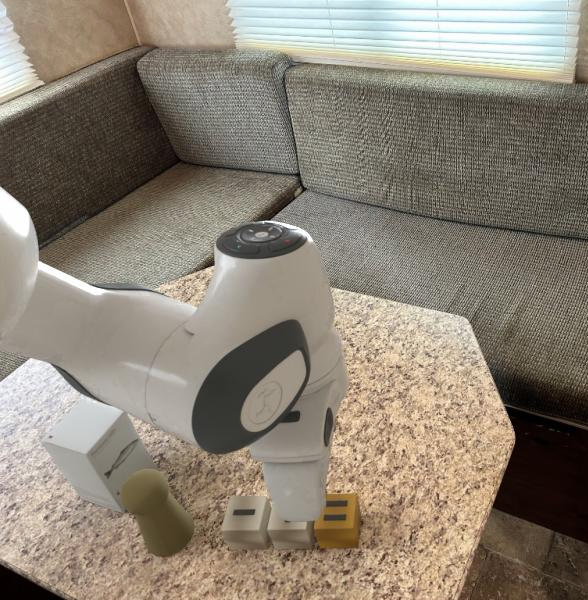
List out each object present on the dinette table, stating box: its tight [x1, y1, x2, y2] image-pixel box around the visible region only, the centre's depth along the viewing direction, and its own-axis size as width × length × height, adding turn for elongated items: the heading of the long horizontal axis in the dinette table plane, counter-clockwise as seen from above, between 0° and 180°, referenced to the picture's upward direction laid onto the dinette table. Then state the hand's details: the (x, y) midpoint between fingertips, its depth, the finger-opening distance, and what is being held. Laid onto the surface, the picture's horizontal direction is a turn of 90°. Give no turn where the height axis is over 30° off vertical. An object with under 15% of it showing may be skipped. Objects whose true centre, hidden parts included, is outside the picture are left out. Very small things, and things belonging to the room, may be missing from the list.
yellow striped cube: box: [314, 492, 362, 550], centre depth 73 cm, size 5×5×5 cm
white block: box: [267, 503, 316, 550], centre depth 73 cm, size 5×5×5 cm
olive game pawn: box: [120, 469, 196, 558], centre depth 72 cm, size 6×6×11 cm
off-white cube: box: [220, 494, 272, 551], centre depth 73 cm, size 5×5×5 cm
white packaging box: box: [40, 397, 158, 514], centre depth 78 cm, size 7×7×13 cm
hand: (324, 462), depth 66 cm, fingers open, 8 cm apart
